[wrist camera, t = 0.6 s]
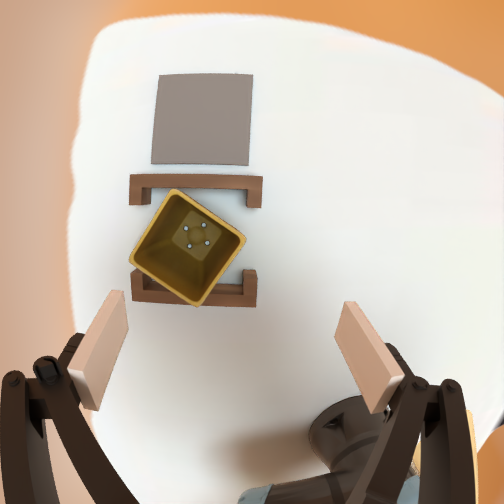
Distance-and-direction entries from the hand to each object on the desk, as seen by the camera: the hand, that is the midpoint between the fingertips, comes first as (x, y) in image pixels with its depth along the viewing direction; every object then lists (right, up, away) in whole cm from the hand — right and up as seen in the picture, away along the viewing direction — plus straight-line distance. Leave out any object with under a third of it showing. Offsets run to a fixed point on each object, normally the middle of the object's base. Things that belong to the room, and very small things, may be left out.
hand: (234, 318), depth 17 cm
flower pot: (-6, +6, +20) cm, 22 cm away
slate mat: (-5, +20, +17) cm, 27 cm away
